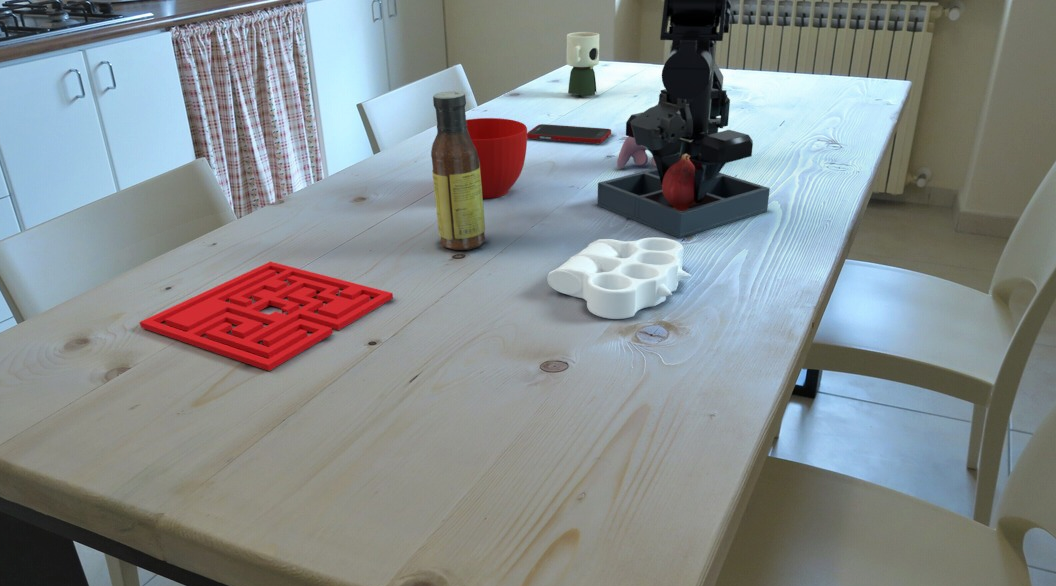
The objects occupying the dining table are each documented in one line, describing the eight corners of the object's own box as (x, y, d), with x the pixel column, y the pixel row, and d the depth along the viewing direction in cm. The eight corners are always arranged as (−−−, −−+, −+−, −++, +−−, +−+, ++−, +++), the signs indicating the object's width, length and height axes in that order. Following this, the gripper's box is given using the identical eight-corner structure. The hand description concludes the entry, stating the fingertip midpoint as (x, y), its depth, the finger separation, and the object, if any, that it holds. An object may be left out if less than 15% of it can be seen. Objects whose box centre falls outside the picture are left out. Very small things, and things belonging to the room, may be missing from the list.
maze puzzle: (269, 370, 90) (268, 365, 89) (140, 327, 99) (139, 322, 99) (393, 298, 104) (392, 293, 104) (271, 266, 114) (270, 261, 113)
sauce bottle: (492, 238, 121) (486, 89, 112) (475, 254, 116) (468, 100, 106) (448, 233, 123) (438, 87, 113) (429, 249, 118) (418, 98, 108)
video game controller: (677, 178, 147) (685, 136, 147) (671, 173, 143) (679, 130, 143) (621, 172, 151) (628, 131, 151) (613, 167, 147) (621, 125, 146)
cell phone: (601, 144, 161) (601, 139, 160) (525, 138, 165) (525, 133, 165) (612, 134, 167) (612, 128, 166) (539, 128, 172) (539, 123, 171)
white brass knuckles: (602, 250, 116) (709, 271, 109) (533, 301, 103) (650, 329, 96) (603, 226, 114) (711, 246, 108) (533, 275, 101) (651, 301, 94)
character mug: (590, 102, 191) (592, 38, 185) (559, 100, 194) (559, 37, 187) (604, 91, 200) (605, 30, 194) (574, 89, 202) (574, 29, 196)
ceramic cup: (409, 200, 136) (404, 135, 131) (486, 174, 147) (483, 113, 142) (468, 218, 128) (465, 150, 123) (545, 189, 139) (544, 126, 134)
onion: (701, 218, 121) (706, 161, 117) (659, 216, 122) (662, 159, 118) (702, 204, 126) (707, 149, 122) (661, 203, 127) (665, 148, 123)
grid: (597, 205, 132) (597, 182, 130) (681, 182, 140) (683, 161, 139) (679, 238, 119) (681, 213, 118) (767, 211, 128) (770, 188, 126)
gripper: (597, 79, 118) (594, 192, 126) (697, 104, 105) (688, 228, 112) (658, 68, 124) (652, 176, 131) (761, 90, 110) (748, 209, 118)
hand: (682, 196), depth 123 cm, fingers closed on onion, 6 cm apart
